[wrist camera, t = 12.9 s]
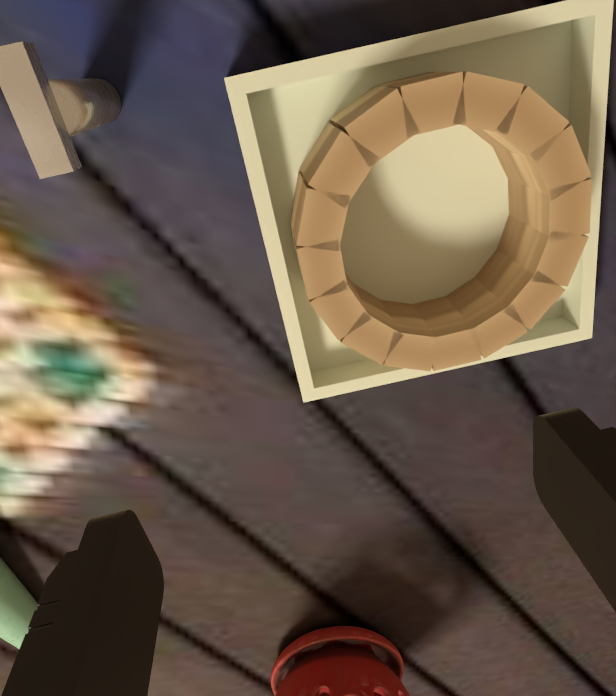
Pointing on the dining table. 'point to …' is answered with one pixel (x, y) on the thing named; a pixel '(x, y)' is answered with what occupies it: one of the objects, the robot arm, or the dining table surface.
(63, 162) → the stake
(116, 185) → the dining table surface
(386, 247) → the tray
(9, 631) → the mint green cone
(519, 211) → the wooden ring
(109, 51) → the dining table surface
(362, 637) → the plant pot
